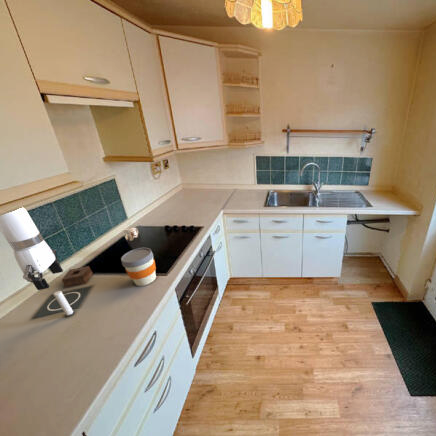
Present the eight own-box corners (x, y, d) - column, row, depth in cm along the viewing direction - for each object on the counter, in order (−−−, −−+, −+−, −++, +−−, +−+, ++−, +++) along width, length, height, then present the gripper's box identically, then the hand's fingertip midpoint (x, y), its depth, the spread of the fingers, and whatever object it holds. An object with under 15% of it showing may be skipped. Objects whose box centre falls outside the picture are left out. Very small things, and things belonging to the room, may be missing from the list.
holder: (66, 288, 108) (61, 279, 106) (73, 277, 115) (69, 269, 113) (86, 283, 110) (82, 275, 108) (92, 273, 117) (88, 265, 115)
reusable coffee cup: (165, 273, 116) (158, 249, 110) (146, 290, 105) (136, 264, 99) (145, 270, 119) (136, 246, 113) (124, 286, 108) (113, 260, 102)
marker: (66, 317, 92) (52, 295, 87) (68, 313, 94) (55, 291, 89) (72, 316, 93) (59, 293, 88) (75, 312, 95) (62, 290, 89)
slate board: (33, 319, 92) (32, 318, 91) (52, 295, 104) (51, 294, 103) (78, 308, 96) (78, 307, 96) (91, 287, 108) (91, 286, 108)
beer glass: (148, 249, 137) (140, 227, 131) (139, 256, 131) (131, 233, 125) (137, 248, 138) (129, 226, 132) (128, 255, 132) (120, 232, 126)
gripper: (28, 232, 85) (51, 269, 92) (-7, 257, 70) (23, 298, 77) (54, 228, 87) (74, 264, 94) (25, 252, 72) (51, 292, 80)
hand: (51, 280), depth 86 cm, fingers open, 9 cm apart
